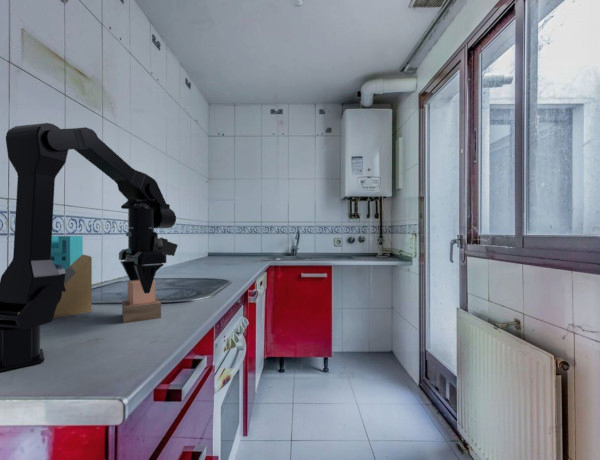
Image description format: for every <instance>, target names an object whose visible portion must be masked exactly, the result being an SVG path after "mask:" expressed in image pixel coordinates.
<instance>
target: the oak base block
mask: <svg viewBox="0 0 600 460" xmlns="http://www.w3.org/2000/svg"><path fill="white" fill-rule="evenodd" d="M121 305H122V308H121V311H122V314H121V315H122V322H123V324H127V323H129V324H130V323H136V322H142V321H149V320H150V321H151V320H159V319H162V303H161V301H160V300H159V298H158V297H156V296H155V301H152V302H146V303H139V304H132V303H130V302H129V301H128V299H127V300H122V302H121Z"/></svg>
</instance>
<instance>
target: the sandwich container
mask: <svg viewBox="0 0 600 460" xmlns="http://www.w3.org/2000/svg"><path fill="white" fill-rule="evenodd" d="M92 258H93V257H92V256H91V255H86V254H83V255H81V256H80V257H79V258H78V259H77V260H76V261H75V262H74V263H73V264H72V265H70V266H69V267H68V268H67V269H66V270H65V272H66V275H65V279H64V287H65V289H66V291H65V292H62V297H61V300H60V302H59V303H58V304H57V307H56V310H55V313H54V316H53V319H54V318H60V317H61V318H62V317H67V316H73V315H78V314H83V313H90V312H92V298H93V297H92V294H93V293H92V292H93V291H92V290H93V289H92V288H93V287H92V284H93V283H92V279H93V278H92V277H93V276H92V275H93V274H92V273H93V271H92V267H93V265H92V264H93V263H92ZM19 313H20V312H18V314H19Z"/></svg>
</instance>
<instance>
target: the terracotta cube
mask: <svg viewBox="0 0 600 460" xmlns="http://www.w3.org/2000/svg"><path fill="white" fill-rule="evenodd" d="M155 297H156V280H153V283H152V286H151V290H150V293H146V294H145V293H144V291H143V289H142V286H141V283H140V281H139V280H132V281H130V280H127V300H128V301H129V302H130V303H132V304H139V303H146V302H152V301H155Z"/></svg>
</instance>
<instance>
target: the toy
mask: <svg viewBox="0 0 600 460" xmlns="http://www.w3.org/2000/svg"><path fill="white" fill-rule="evenodd" d="M83 239H84V237H83V235H52V245H51V260H52V262H53V264H54V265H55V267H56V268H64V269H65V270H66V269H67V268H68V267H69V266H70V265H72V264H73V263H74V262H75V261H76V260H77V259H78V258H79V257H80V256H81V255H84V254H83V253H84V251H83V248H84V245H83V244H84V241H83Z"/></svg>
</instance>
